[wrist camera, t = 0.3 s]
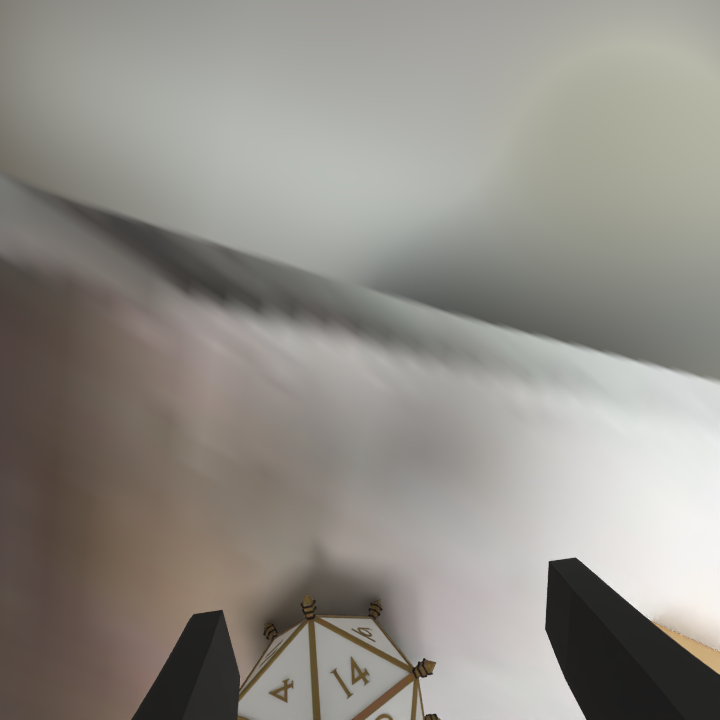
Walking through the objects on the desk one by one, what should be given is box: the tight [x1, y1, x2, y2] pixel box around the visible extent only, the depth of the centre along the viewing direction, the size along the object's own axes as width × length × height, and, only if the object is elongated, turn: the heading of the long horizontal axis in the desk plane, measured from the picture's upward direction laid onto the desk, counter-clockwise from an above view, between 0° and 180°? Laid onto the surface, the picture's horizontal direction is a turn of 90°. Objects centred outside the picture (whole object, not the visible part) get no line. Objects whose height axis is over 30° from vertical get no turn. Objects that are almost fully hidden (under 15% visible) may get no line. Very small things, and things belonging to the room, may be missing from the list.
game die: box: [237, 594, 440, 720], centre depth 20 cm, size 9×8×10 cm
